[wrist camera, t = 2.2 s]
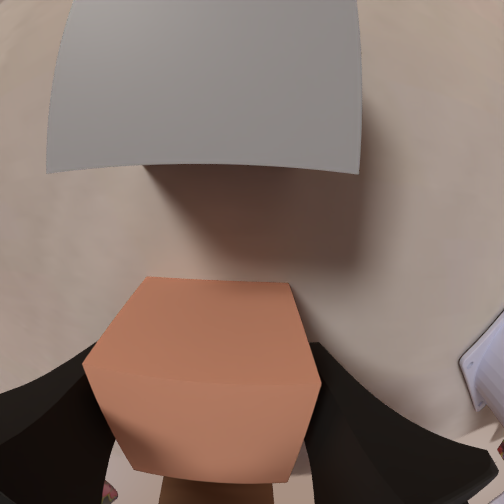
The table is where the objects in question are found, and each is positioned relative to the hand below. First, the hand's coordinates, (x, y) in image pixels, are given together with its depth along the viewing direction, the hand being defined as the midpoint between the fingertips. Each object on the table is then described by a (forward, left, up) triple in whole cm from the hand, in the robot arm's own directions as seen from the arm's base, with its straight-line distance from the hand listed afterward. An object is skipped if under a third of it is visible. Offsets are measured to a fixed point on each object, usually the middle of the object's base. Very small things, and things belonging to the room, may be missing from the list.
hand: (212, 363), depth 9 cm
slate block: (+6, -6, -2) cm, 9 cm away
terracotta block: (0, 0, -2) cm, 2 cm away
